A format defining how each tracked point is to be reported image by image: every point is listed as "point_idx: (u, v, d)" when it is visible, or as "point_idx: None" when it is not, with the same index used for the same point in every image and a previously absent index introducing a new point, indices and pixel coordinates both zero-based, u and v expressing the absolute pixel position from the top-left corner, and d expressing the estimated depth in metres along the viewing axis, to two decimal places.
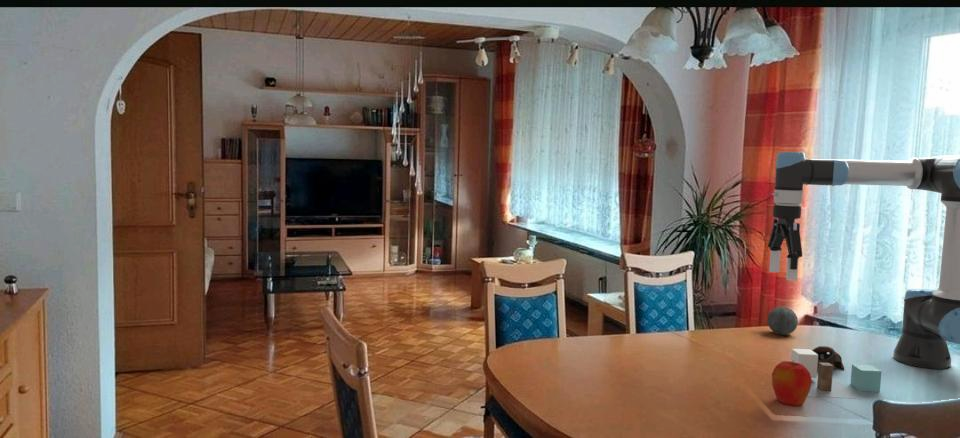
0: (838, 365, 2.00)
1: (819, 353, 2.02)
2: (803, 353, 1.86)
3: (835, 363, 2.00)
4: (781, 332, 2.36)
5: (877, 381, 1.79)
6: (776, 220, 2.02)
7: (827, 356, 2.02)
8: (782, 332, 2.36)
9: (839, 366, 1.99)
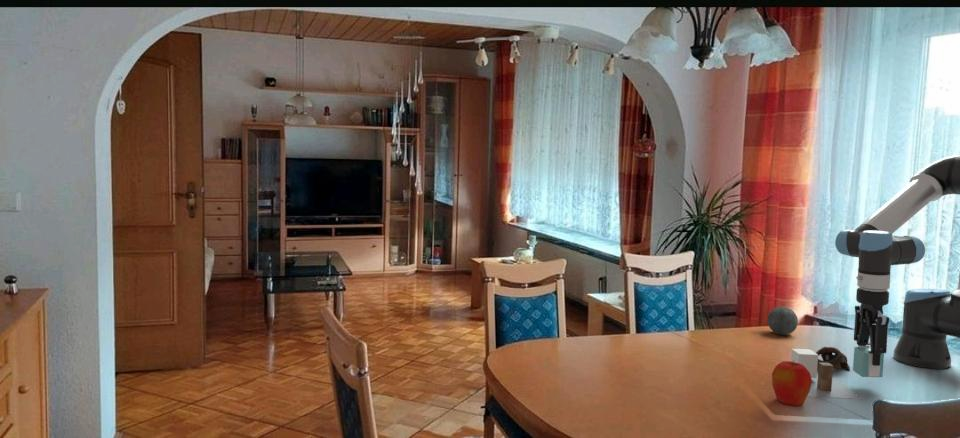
0: (843, 366, 1.99)
1: (824, 354, 2.01)
2: (803, 353, 1.86)
3: (840, 364, 2.00)
4: (781, 332, 2.36)
5: (880, 363, 1.78)
6: (858, 307, 1.85)
7: (832, 357, 2.01)
8: (782, 332, 2.36)
9: (844, 367, 1.99)
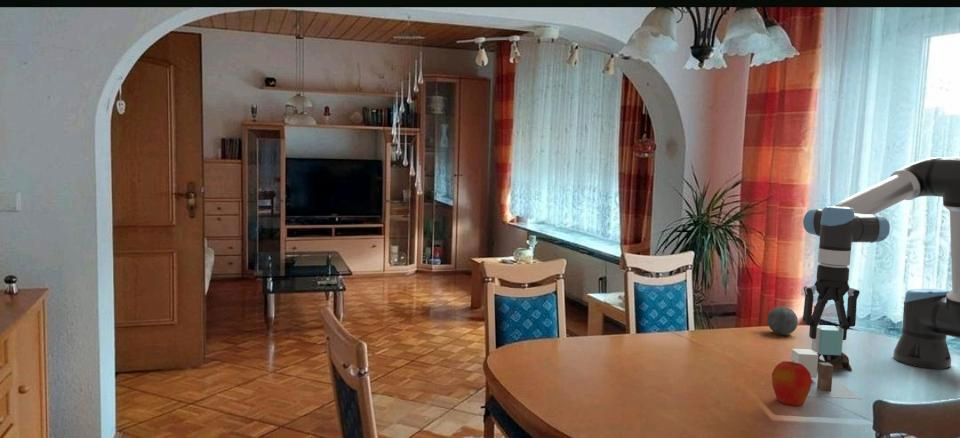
0: (845, 366, 1.99)
1: None
2: (803, 353, 1.86)
3: (842, 364, 2.00)
4: (781, 332, 2.36)
5: (820, 339, 1.77)
6: None
7: (834, 357, 2.01)
8: (782, 332, 2.36)
9: (846, 367, 1.99)
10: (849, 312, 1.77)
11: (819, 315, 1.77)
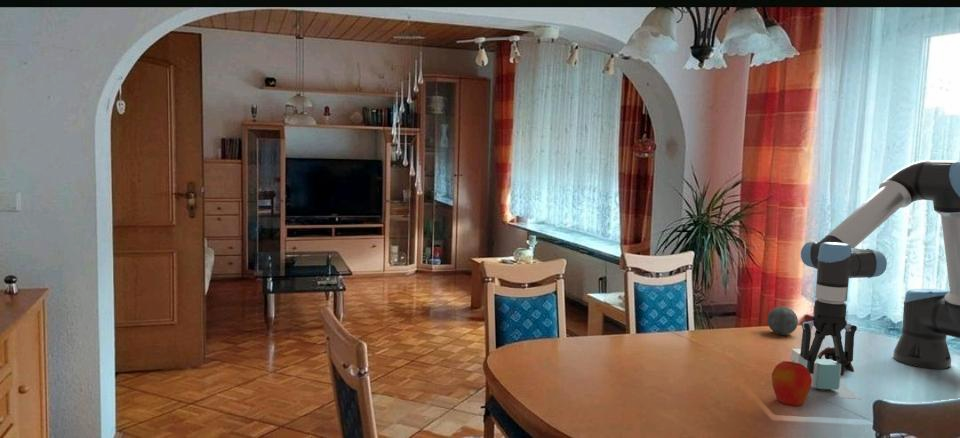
0: (847, 366, 1.99)
1: (828, 354, 2.01)
2: None
3: None
4: (781, 332, 2.36)
5: (817, 373, 1.78)
6: None
7: (836, 357, 2.01)
8: (782, 332, 2.36)
9: (848, 367, 1.99)
10: (847, 347, 1.78)
11: (816, 351, 1.78)
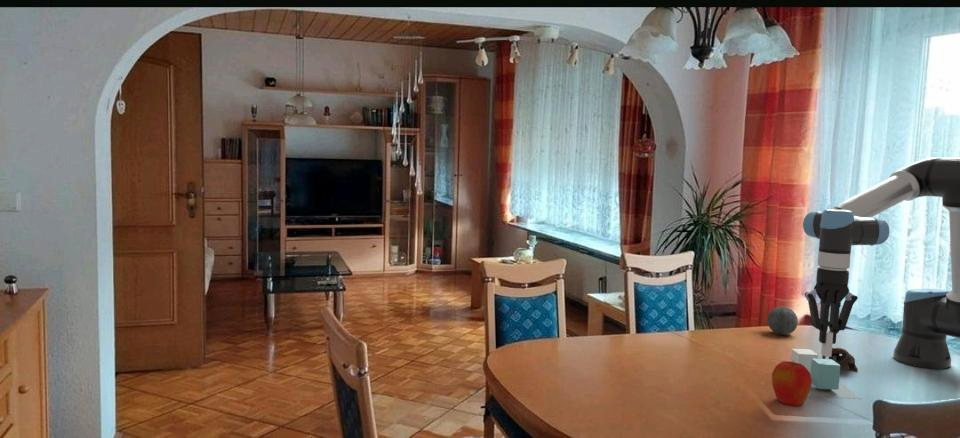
0: (851, 367, 1.98)
1: (832, 355, 2.00)
2: (803, 353, 1.86)
3: (848, 365, 1.99)
4: (781, 332, 2.36)
5: (817, 373, 1.78)
6: None
7: (839, 358, 2.00)
8: (782, 332, 2.36)
9: (852, 368, 1.98)
10: (842, 315, 1.77)
11: (826, 319, 1.77)
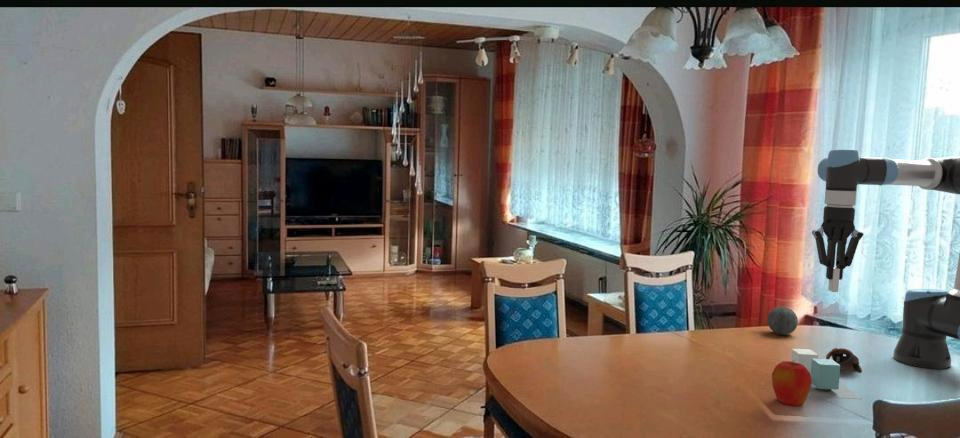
0: (855, 367, 1.98)
1: (835, 355, 2.00)
2: (803, 353, 1.86)
3: (851, 365, 1.99)
4: (781, 332, 2.36)
5: (817, 373, 1.78)
6: None
7: (843, 358, 2.00)
8: (782, 332, 2.36)
9: (856, 368, 1.98)
10: (848, 252, 1.83)
11: (833, 256, 1.83)
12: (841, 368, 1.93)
